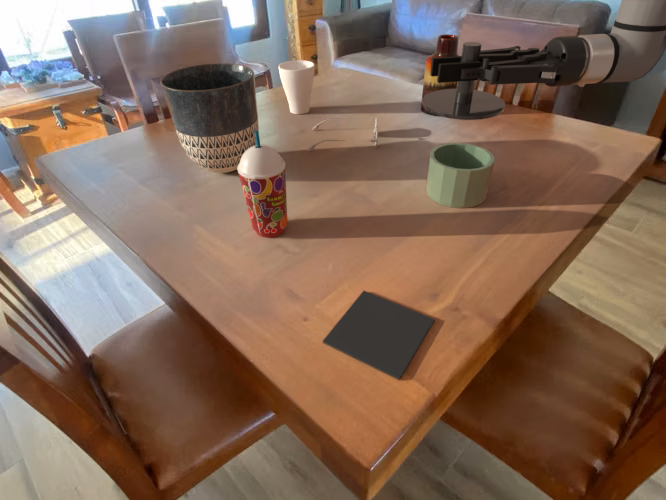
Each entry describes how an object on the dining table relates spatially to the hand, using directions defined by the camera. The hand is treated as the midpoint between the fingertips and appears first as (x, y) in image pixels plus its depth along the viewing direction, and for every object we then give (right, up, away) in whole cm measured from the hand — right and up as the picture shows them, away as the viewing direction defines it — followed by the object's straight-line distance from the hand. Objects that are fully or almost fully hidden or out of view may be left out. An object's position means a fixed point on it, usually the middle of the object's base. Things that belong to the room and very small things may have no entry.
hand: (435, 70), depth 68 cm
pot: (+10, -16, +23) cm, 30 cm away
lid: (+6, -4, +4) cm, 8 cm away
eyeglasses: (-14, 0, +46) cm, 48 cm away
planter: (-43, -9, +36) cm, 56 cm away
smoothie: (-29, -25, +15) cm, 41 cm away
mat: (-10, -41, -6) cm, 42 cm away
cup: (-27, +14, +64) cm, 70 cm away
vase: (+16, +14, +61) cm, 65 cm away
